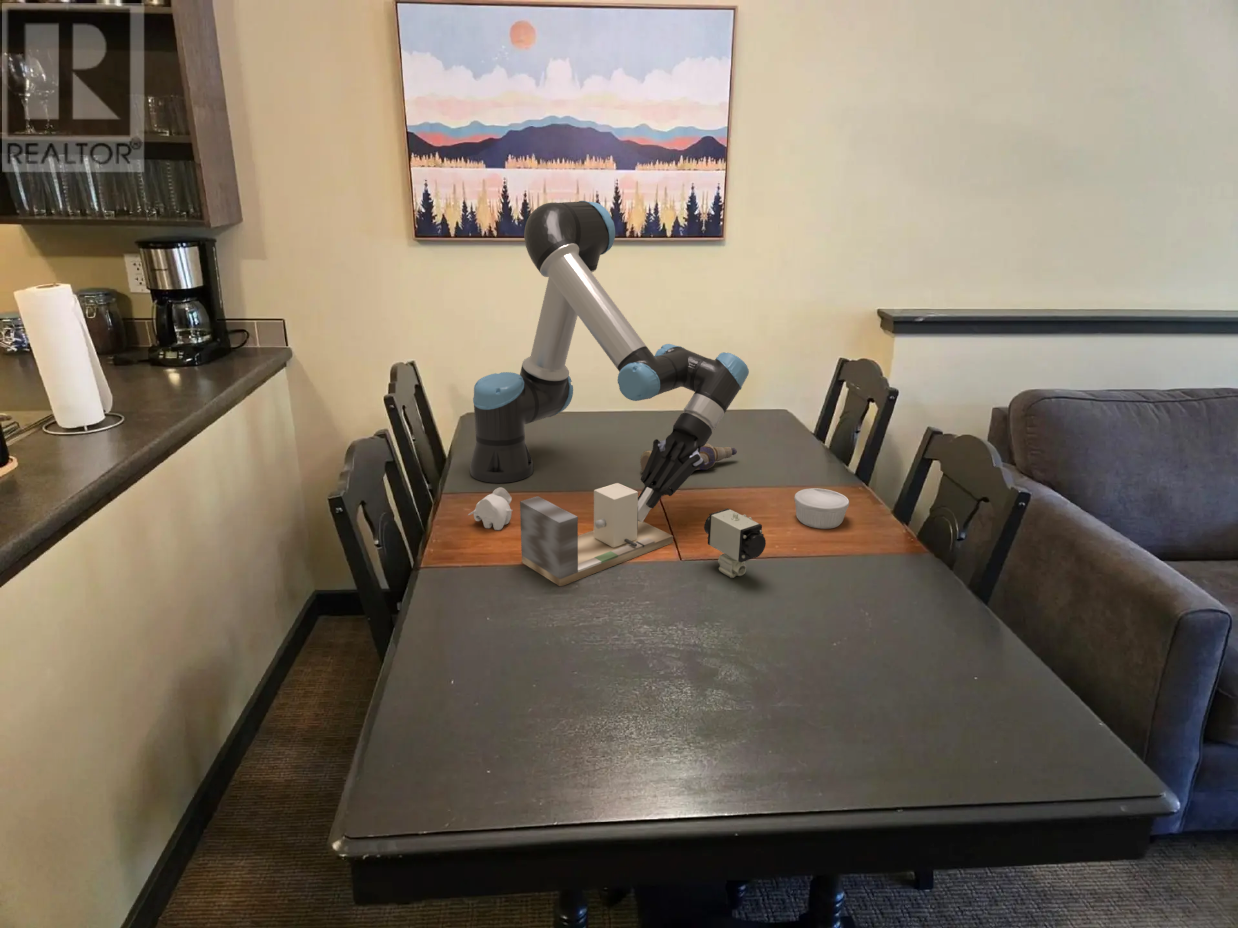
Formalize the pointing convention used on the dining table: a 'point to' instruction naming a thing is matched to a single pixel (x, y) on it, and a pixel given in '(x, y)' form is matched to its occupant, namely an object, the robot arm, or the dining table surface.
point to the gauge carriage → (616, 515)
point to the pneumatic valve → (734, 540)
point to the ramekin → (820, 507)
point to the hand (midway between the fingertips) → (635, 518)
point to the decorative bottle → (706, 453)
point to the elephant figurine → (494, 509)
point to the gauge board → (602, 548)
